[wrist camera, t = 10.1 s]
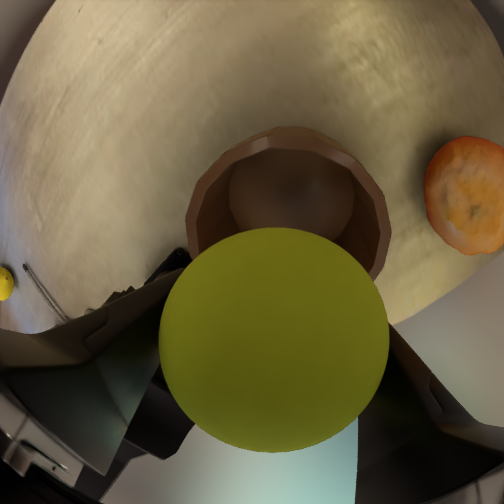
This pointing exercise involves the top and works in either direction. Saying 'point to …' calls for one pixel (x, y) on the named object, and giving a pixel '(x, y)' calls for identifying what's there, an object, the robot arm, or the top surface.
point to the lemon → (5, 284)
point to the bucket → (291, 195)
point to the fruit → (467, 194)
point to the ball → (273, 340)
